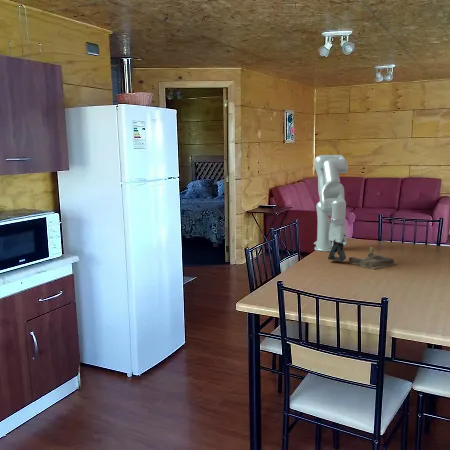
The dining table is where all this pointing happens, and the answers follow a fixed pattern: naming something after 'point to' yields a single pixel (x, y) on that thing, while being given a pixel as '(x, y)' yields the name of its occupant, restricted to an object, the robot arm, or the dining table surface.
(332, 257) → the phone stand
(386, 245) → the dining table surface
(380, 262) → the board
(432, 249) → the dining table surface
